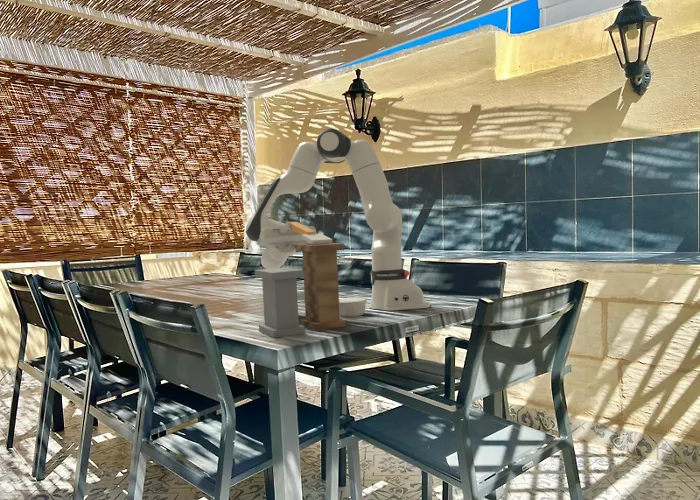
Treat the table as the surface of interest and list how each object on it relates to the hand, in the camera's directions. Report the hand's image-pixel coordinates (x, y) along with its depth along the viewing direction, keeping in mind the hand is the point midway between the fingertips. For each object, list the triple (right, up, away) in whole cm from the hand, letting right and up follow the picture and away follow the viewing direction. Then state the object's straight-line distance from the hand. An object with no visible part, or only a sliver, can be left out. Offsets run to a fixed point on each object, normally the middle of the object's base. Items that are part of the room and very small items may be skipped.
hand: (295, 224), depth 185 cm
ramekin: (+19, -32, +6) cm, 38 cm away
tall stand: (+10, -33, -13) cm, 37 cm away
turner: (+4, -4, -7) cm, 9 cm away
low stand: (-2, -34, -20) cm, 39 cm away
